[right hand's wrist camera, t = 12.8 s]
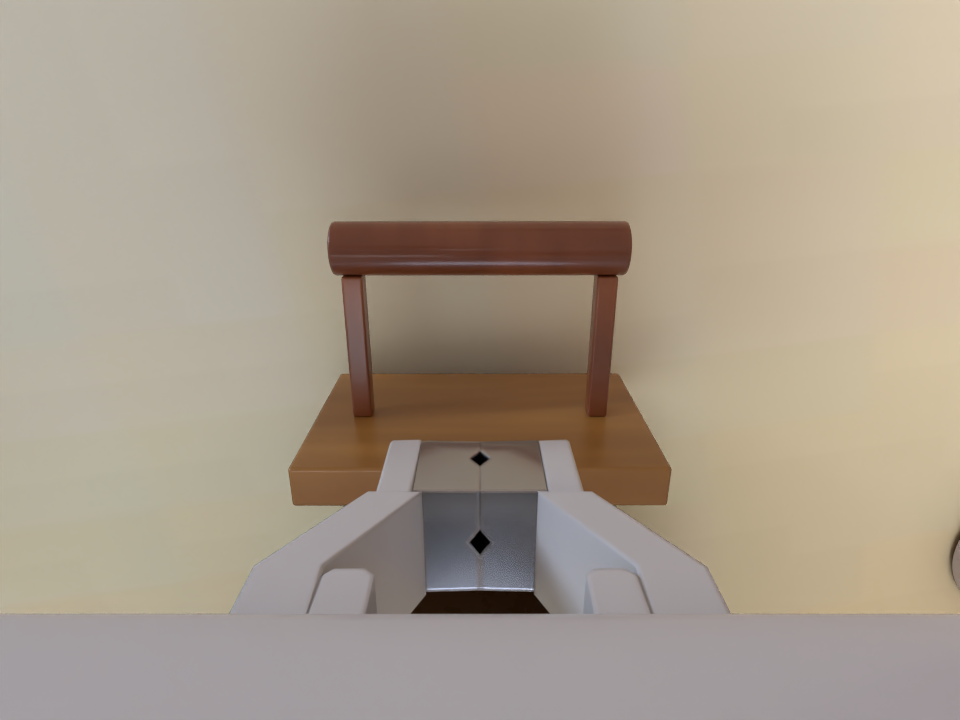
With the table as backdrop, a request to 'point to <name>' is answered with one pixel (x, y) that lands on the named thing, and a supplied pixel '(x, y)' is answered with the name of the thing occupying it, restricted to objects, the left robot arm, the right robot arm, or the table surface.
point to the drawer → (479, 376)
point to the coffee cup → (956, 565)
